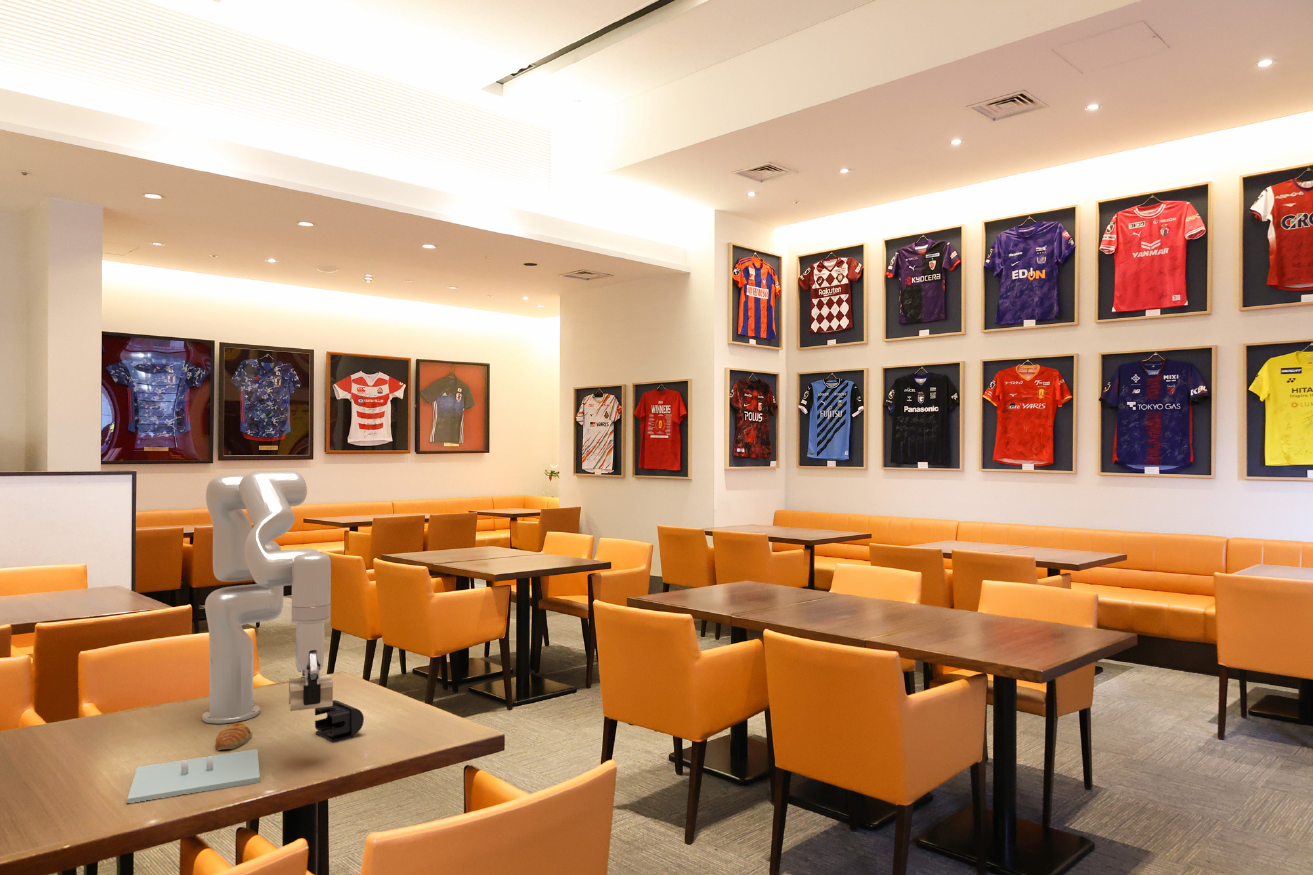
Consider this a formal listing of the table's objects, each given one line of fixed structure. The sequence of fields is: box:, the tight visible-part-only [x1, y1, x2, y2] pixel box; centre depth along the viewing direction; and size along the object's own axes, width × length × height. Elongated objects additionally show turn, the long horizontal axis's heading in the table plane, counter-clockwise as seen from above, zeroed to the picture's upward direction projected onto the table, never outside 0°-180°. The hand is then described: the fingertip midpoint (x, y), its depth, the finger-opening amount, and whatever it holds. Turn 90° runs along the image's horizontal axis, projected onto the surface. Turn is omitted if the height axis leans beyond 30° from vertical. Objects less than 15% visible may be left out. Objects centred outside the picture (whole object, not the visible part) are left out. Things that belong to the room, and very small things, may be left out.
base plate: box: [126, 748, 261, 804], centre depth 168 cm, size 18×22×4 cm
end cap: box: [314, 699, 365, 743], centre depth 193 cm, size 10×7×7 cm
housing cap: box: [288, 674, 334, 712], centre depth 176 cm, size 6×8×5 cm
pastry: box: [215, 722, 253, 752], centre depth 187 cm, size 9×7×4 cm
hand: (310, 698), depth 176 cm, fingers closed on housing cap, 6 cm apart
